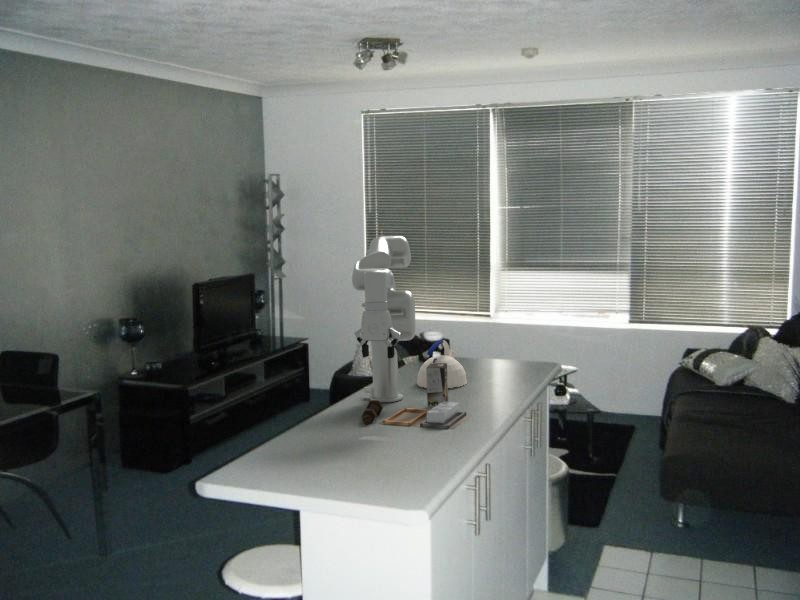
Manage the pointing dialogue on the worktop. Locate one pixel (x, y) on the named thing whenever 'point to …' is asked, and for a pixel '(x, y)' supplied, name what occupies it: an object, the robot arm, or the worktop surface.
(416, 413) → the wooden tray
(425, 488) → the worktop surface
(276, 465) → the worktop surface
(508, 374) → the worktop surface
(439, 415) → the bar
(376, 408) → the bolt
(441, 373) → the coffee box
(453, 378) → the kettle
